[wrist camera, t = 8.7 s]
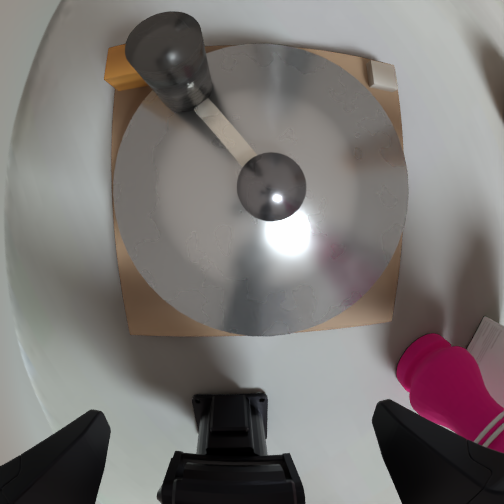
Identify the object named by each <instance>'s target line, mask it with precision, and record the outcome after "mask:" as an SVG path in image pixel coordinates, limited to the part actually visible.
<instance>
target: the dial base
mask: <svg viewBox="0 0 504 504" xmlns="http://www.w3.org/2000/svg"><path fill="white" fill-rule="evenodd" d="M231 46H237V45H225V46H205V51H206V53H209V52H212V51H215V50H219V49H222V48H225V47H231ZM294 48H296V47H294ZM298 49H302V50H305V51H308V52H311V53H314V54H316V55H319V56H321V57H323V58H325V59H327V60H329V61H331V62H333V63H335V64H336V65H338V66H340V67H341V68H343V69H344V70H346V71H347V72H348V73H350V74H351V75H352V76H354V77H355V78H356V79H357V80H358V81H359V82H360V83H362V84H363V85H364V86H365V87H366V88H367V89H368V90H369V91H370V92H371V94H372V95H373V96H374V97H375V98H376V100H377V101H378V102H379V103H380V105H381V106H382V108H383V109H384V111H385V112H386V114H387V116H388V117H389V119H390V120H391V122H392V124H393V127H394V129H395V131H396V133H397V135H398V138H399V140H400V144H401V147H402V150H403V136H402V123H401V112H400V103H399V95H398V85H397V79H396V72H395V67H394V65H391V64H387V63H383V62H379V61H375V60H371V59H367V58H362V57H357V56H352V55H347V54H341V53H336V52H329V51H322V50H315V49H306V48H298ZM104 80H105V81H106V82H108V83H109V84H110V85H112V86H113V87H114V88H115V94H114V106H113V122H112V152H111V172H112V203H113V219H114V231H115V242H116V251H117V260H118V268H119V275H120V282H121V288H122V295H123V301H124V306H125V312H126V317H127V322H128V327H129V332H130V335H146V336H246V335H239V334H232V333H228V332H225V331H221V330H217V329H214V328H211V327H209V326H206V325H204V324H201V323H199V322H196V321H195V320H193V319H191V318H189V317H188V316H186V315H184V314H182V313H181V312H179V311H178V310H176V309H175V308H174V307H172V306H171V305H170V304H168V303H167V302H166V301H164V300H163V299H162V298H161V297H160V296H159V295H158V294H157V293H156V292H155V291H154V290H153V289H152V288H151V287H150V286H149V284H148V283H147V282H146V281H145V279H144V278H143V277H142V275H141V274H140V273H139V271H138V270H137V268H136V267H135V265H134V263H133V261H132V260H131V258H130V256H129V254H128V252H127V250H126V247H125V245H124V243H123V240H122V238H121V235H120V231H119V228H118V224H117V220H116V216H115V208H114V199H113V181H114V170H115V164H116V158H117V154H118V151H119V147H120V144H121V141H122V138H123V135H124V133H125V131H126V129H127V127H128V125H129V123H130V120H131V118H132V117H133V115H134V114H135V112H136V111H137V109H138V108H139V106H140V105H141V103H142V102H143V100H144V99H145V98H146V97H147V96H148V95H149V93H150V92H151V91H152V89H151V88H150V86H149V85H148V84H147V83H146V82H145V81H144V79H143V78H142V77H141V76H140V75H139V74H138V73H137V71H136V70H135V69H134V68H133V67H132V66H131V65H130V63H129V62H128V61H127V59H126V56H125V44H123V45H119V46H115V47H111V48H109V50H108V55H107V62H106V68H105V75H104ZM402 233H403V231H402ZM401 246H402V234H401V237H400V240H399V243H398V246H397V248H396V250H395V252H394V254H393V256H392V258H391V260H390V262H389V264H388V265H387V267H386V268H385V270H384V272H383V273H382V275H381V276H380V277H379V279H378V280H377V281H376V282H375V284H374V285H373V286H372V287H371V288H370V289H369V291H368V292H366V293H365V294H364V295H363V296H362V297H361V298H360V299H359V300H358V301H357V302H356V303H354V304H353V305H352V306H350V307H349V308H348V309H346V310H345V311H343V312H342V313H341V314H339V315H337V316H335V317H333V318H332V319H330V320H328V321H326V322H324V323H322V324H319V325H317V326H314V327H312V328H309V329H306V330H302V331H298V332H309V331H320V330H330V329H339V328H348V327H356V326H364V325H371V324H378V323H385V322H391V321H392V315H393V310H394V304H395V297H396V290H397V283H398V275H399V267H400V257H401ZM294 333H297V332H294Z"/></svg>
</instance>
